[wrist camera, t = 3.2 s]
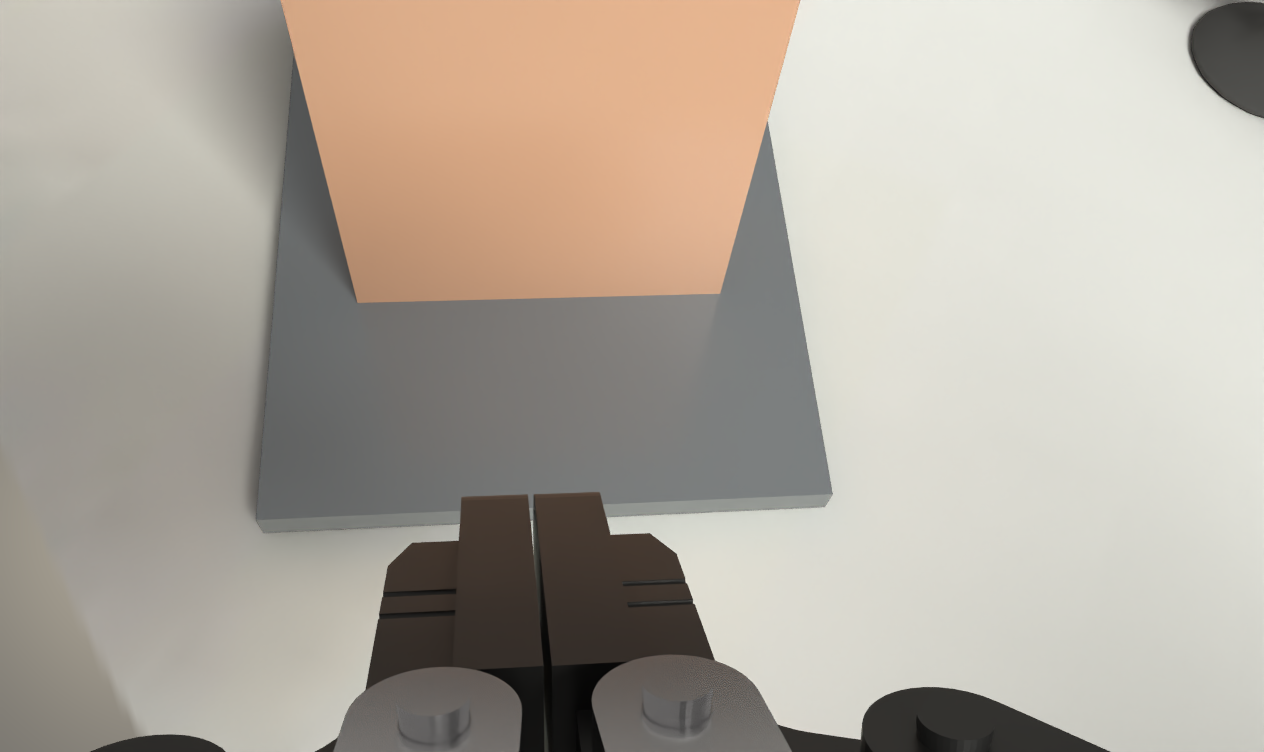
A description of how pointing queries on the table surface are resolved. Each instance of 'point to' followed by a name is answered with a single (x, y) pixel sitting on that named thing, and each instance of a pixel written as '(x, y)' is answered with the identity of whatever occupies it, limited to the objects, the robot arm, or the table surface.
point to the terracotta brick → (538, 140)
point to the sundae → (1233, 53)
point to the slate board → (531, 384)
